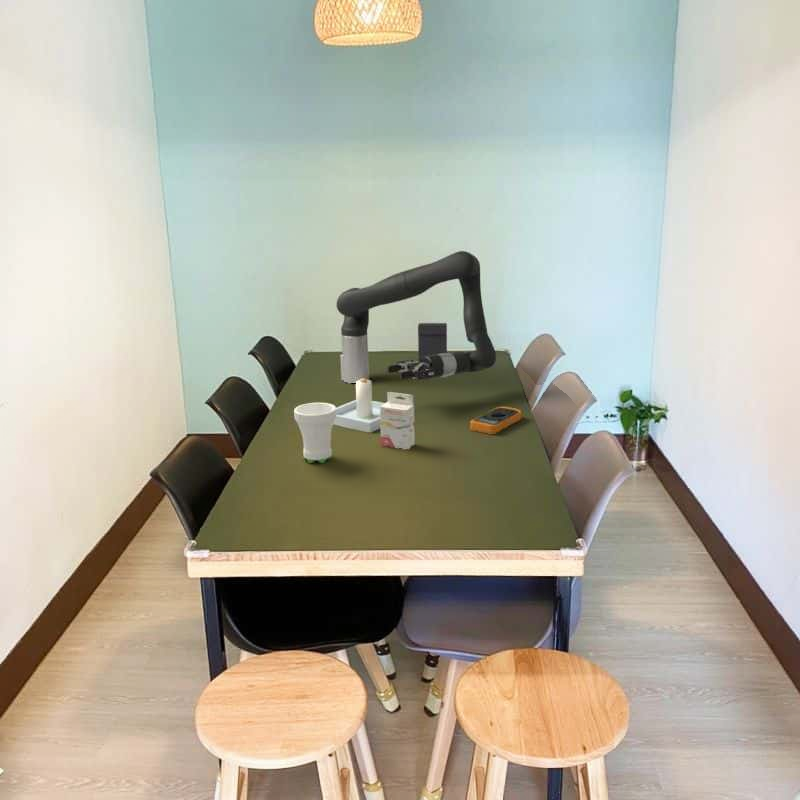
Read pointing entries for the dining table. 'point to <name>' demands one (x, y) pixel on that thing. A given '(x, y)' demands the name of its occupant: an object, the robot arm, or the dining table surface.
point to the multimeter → (495, 420)
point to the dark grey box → (432, 339)
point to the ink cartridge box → (397, 421)
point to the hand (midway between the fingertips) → (394, 372)
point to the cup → (316, 429)
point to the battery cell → (364, 398)
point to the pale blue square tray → (349, 419)
